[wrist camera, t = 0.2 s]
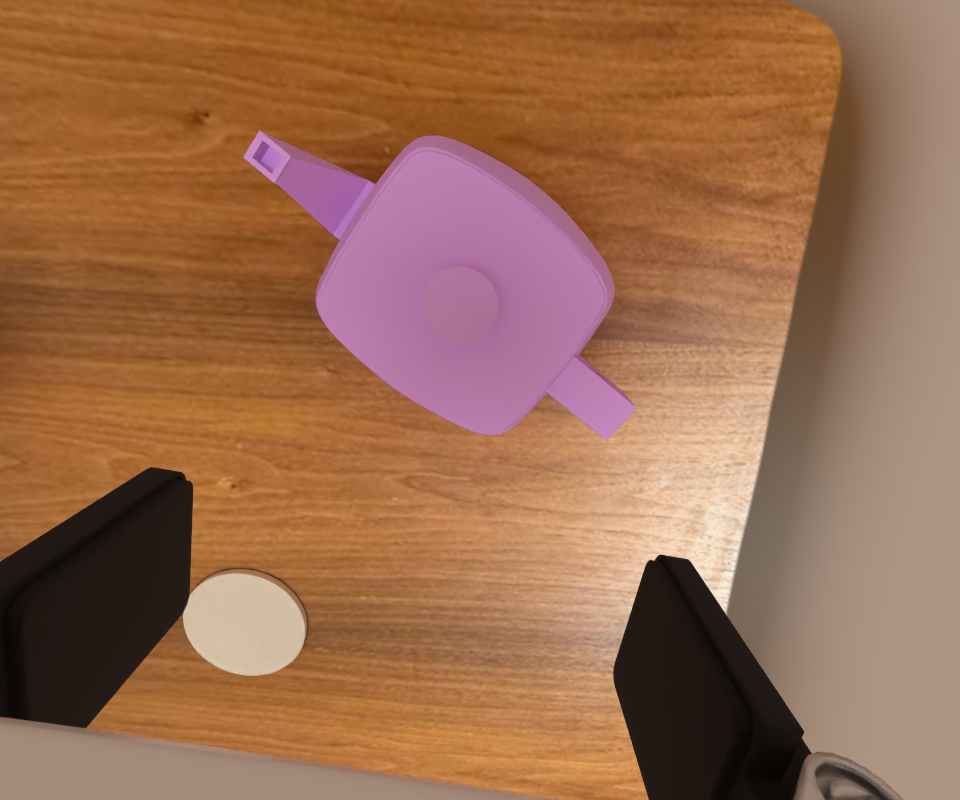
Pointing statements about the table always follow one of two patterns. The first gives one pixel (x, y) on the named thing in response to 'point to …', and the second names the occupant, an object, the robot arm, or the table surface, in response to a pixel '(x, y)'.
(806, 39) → the table surface
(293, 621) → the coaster
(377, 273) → the teapot
